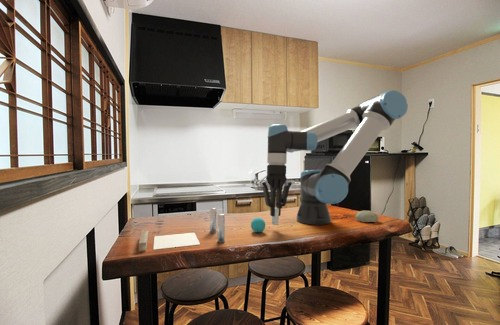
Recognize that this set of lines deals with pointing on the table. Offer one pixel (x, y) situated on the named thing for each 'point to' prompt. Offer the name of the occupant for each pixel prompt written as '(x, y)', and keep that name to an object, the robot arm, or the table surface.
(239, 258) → the table surface
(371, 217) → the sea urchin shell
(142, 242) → the wall
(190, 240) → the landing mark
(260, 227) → the ball
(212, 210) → the post
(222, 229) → the post
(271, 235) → the table surface
